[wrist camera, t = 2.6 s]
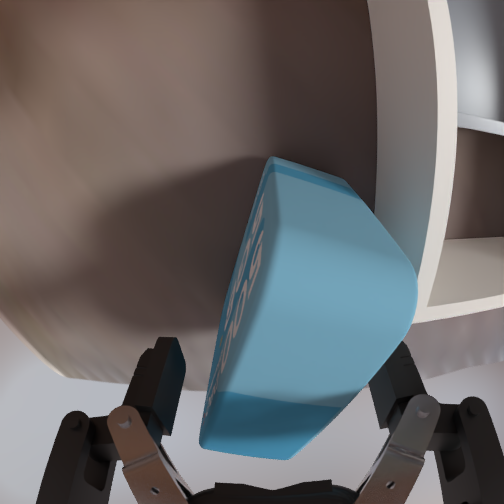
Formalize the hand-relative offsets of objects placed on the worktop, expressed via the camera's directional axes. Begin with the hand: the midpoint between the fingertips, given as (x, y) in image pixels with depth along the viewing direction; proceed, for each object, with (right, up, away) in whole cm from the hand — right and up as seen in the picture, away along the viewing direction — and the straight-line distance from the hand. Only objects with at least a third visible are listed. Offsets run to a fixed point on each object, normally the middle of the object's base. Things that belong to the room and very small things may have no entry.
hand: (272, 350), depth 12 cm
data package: (+1, +4, +8) cm, 9 cm away
